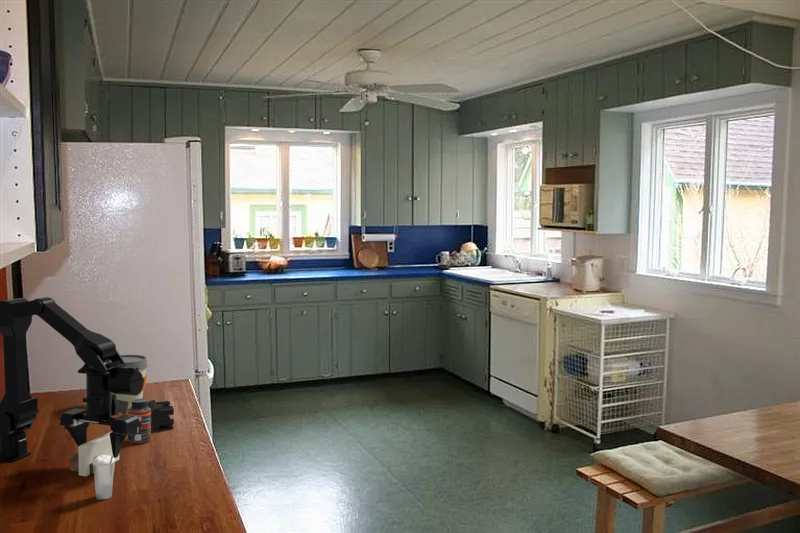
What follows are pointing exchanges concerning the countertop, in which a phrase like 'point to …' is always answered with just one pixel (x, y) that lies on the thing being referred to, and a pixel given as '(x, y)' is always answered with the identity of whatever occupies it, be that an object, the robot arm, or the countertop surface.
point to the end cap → (161, 415)
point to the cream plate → (93, 452)
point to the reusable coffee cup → (142, 364)
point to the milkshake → (103, 476)
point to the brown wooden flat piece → (77, 463)
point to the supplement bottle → (140, 422)
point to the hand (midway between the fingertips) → (99, 455)
